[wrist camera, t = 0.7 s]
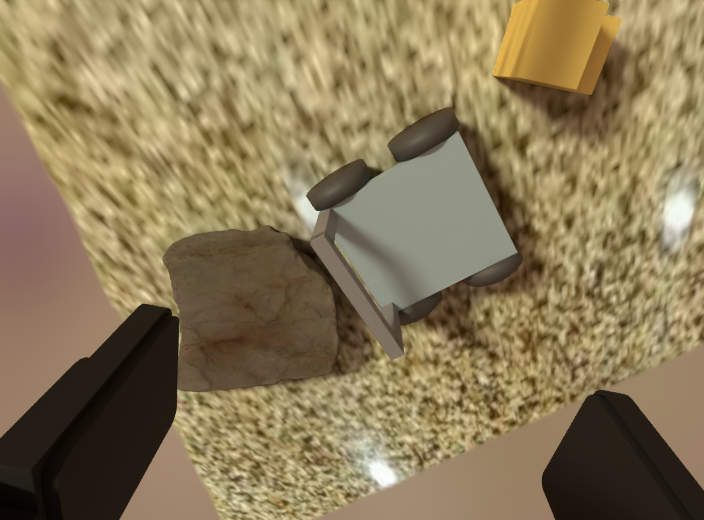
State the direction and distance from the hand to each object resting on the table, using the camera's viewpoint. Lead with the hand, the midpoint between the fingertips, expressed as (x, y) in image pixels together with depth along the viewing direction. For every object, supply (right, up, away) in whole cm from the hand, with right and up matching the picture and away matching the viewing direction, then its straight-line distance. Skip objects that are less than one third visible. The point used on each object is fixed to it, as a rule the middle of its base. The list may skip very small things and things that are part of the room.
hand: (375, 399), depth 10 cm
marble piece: (-10, -1, +30) cm, 31 cm away
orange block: (+13, +18, +20) cm, 30 cm away
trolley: (+5, +7, +25) cm, 26 cm away
